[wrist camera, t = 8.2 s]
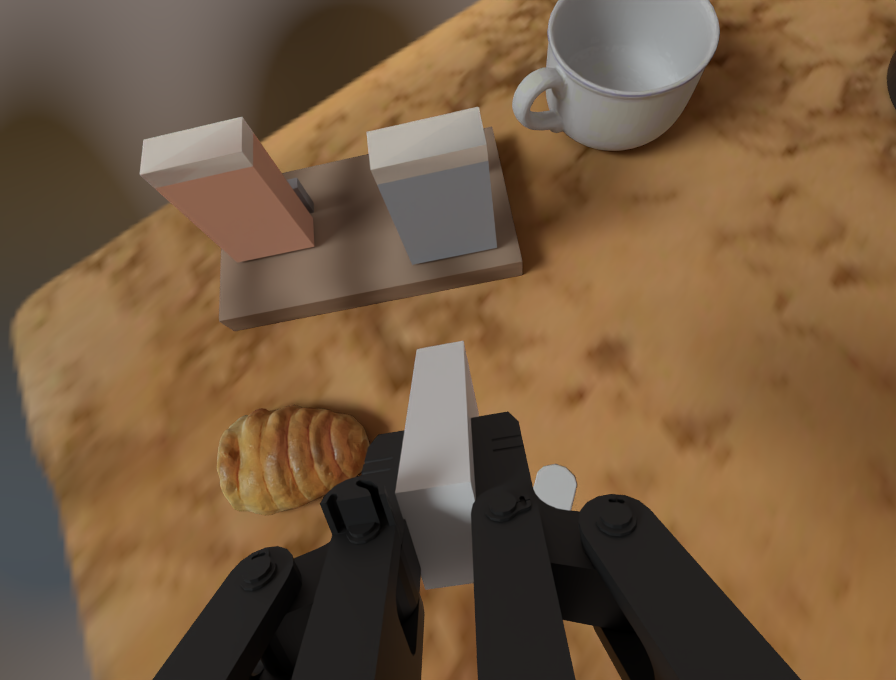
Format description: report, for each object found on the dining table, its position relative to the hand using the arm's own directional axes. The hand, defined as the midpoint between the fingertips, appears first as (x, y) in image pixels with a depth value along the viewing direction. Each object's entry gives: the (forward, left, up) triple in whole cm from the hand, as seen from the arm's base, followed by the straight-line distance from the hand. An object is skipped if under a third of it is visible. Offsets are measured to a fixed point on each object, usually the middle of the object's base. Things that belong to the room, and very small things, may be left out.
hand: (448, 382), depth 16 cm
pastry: (+13, -2, -17) cm, 22 cm away
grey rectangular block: (0, -14, -15) cm, 20 cm away
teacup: (-13, -24, -17) cm, 32 cm away
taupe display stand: (+6, -18, -17) cm, 25 cm away
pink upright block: (+13, -18, -15) cm, 26 cm away
